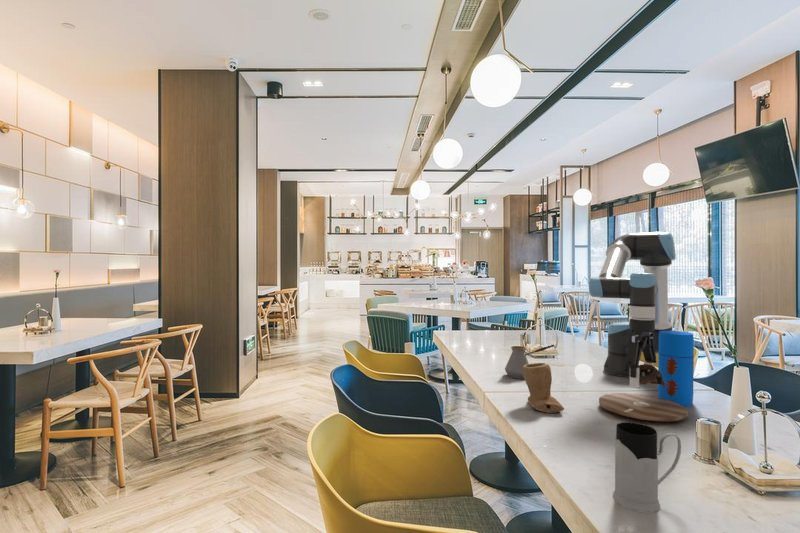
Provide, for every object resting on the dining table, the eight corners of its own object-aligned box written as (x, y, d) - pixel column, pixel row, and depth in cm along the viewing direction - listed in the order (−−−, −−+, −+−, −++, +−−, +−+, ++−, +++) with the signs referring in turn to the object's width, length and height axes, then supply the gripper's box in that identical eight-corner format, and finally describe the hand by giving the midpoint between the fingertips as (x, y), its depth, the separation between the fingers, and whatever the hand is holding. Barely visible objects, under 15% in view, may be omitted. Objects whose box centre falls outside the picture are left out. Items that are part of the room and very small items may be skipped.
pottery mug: (673, 391, 139) (665, 371, 138) (645, 403, 141) (636, 382, 139) (653, 373, 151) (645, 354, 149) (627, 384, 152) (619, 365, 151)
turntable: (619, 391, 164) (619, 388, 164) (699, 409, 144) (699, 406, 144) (584, 405, 147) (584, 402, 147) (670, 427, 127) (670, 424, 127)
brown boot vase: (519, 399, 158) (520, 358, 158) (553, 401, 157) (553, 359, 157) (527, 413, 143) (528, 368, 143) (564, 415, 142) (565, 369, 142)
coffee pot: (503, 378, 188) (503, 343, 188) (506, 372, 199) (506, 339, 199) (555, 382, 182) (555, 347, 182) (555, 376, 192) (555, 342, 192)
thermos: (654, 401, 157) (655, 332, 157) (661, 395, 165) (662, 329, 165) (690, 408, 150) (690, 336, 149) (695, 401, 157) (696, 332, 157)
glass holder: (604, 490, 94) (604, 421, 94) (665, 487, 96) (665, 419, 95) (629, 513, 85) (629, 437, 85) (695, 510, 87) (696, 435, 87)
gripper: (644, 315, 156) (643, 376, 156) (615, 320, 141) (614, 387, 141) (667, 317, 150) (667, 381, 150) (639, 322, 135) (638, 392, 135)
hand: (641, 384), depth 145 cm, fingers closed on pottery mug, 11 cm apart
